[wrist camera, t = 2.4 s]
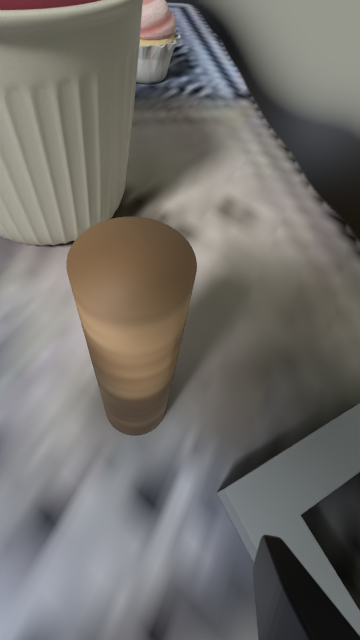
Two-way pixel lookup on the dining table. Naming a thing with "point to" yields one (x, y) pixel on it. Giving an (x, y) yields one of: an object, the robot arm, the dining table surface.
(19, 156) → the canister
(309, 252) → the dining table surface
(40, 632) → the dining table surface
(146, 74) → the cupcake
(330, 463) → the hole plate
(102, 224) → the tall pin
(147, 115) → the dining table surface
